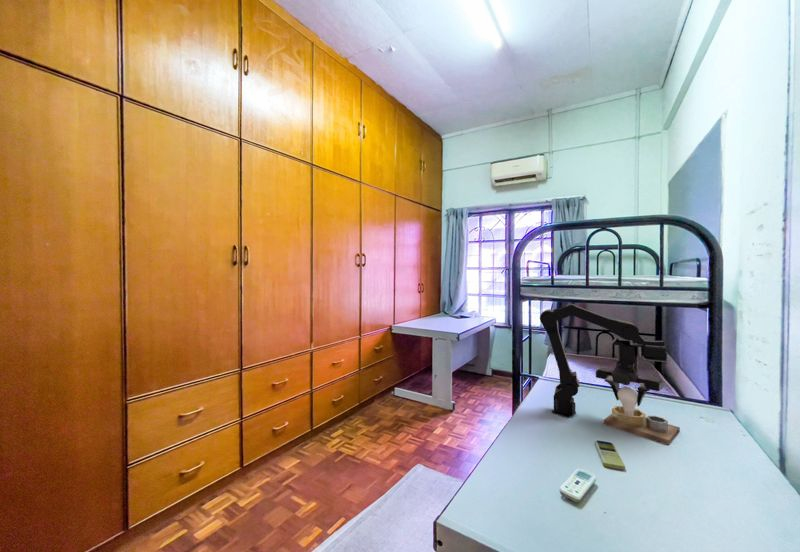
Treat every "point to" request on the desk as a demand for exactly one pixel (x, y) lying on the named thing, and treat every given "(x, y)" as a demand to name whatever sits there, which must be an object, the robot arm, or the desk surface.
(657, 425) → the grey small collar
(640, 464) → the desk surface
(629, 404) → the lightbulb
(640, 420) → the brass collar
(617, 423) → the walnut board
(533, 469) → the desk surface
